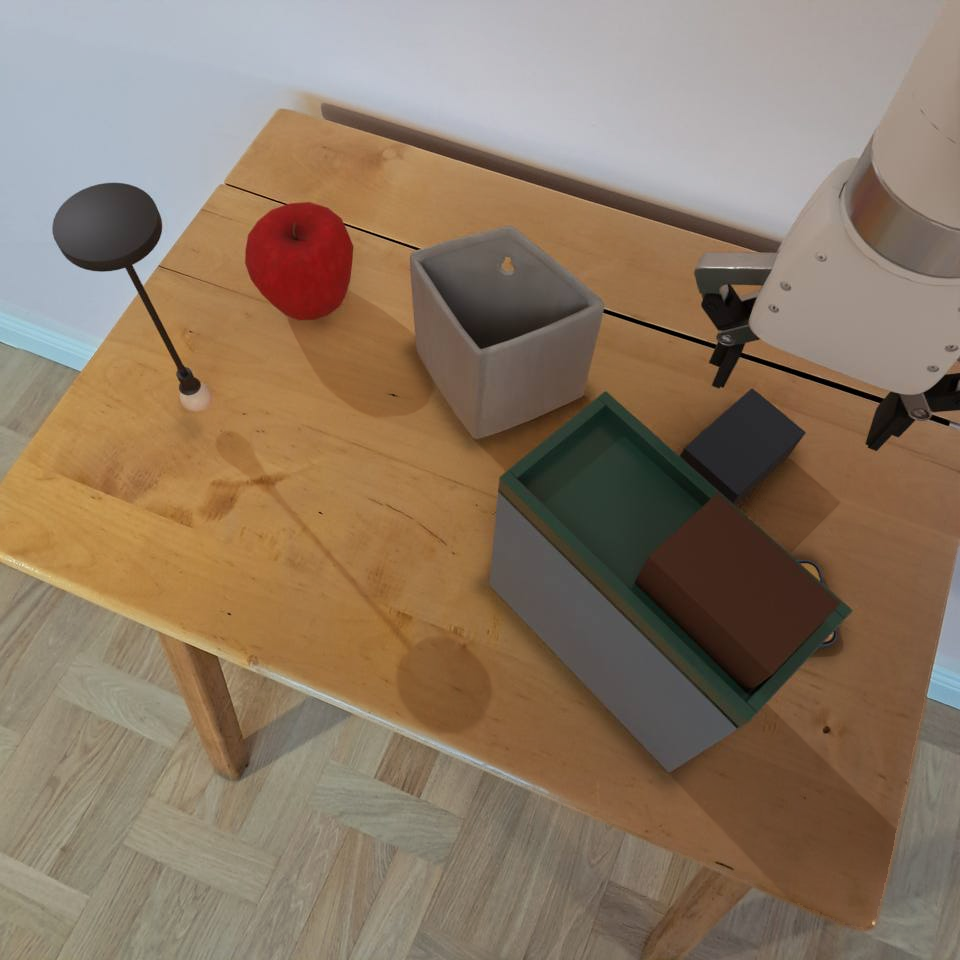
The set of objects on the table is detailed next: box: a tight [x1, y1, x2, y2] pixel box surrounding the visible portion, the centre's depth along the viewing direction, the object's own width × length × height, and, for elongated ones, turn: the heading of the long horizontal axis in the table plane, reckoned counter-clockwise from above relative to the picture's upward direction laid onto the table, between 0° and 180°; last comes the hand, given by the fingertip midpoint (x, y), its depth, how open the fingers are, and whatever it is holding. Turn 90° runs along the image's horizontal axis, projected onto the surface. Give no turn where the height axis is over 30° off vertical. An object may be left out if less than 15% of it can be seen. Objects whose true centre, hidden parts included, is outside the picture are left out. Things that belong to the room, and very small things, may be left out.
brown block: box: [635, 493, 840, 693], centre depth 50 cm, size 6×9×4 cm, turn 42°
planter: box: [409, 225, 605, 440], centre depth 71 cm, size 16×8×19 cm, turn 73°
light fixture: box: [51, 182, 213, 413], centre depth 67 cm, size 7×7×25 cm
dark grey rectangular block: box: [679, 388, 806, 507], centre depth 76 cm, size 6×9×4 cm, turn 132°
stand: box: [488, 491, 738, 774], centre depth 62 cm, size 20×10×18 cm, turn 42°
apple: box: [244, 201, 354, 321], centre depth 80 cm, size 10×10×11 cm
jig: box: [497, 390, 853, 730], centre depth 53 cm, size 20×10×2 cm, turn 42°
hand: (798, 399), depth 53 cm, fingers open, 9 cm apart
